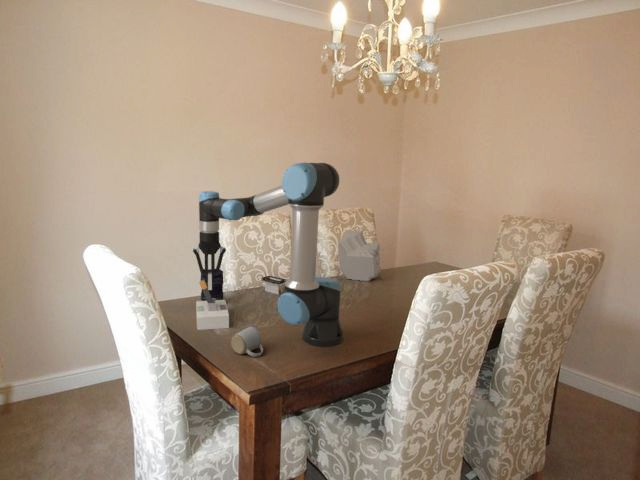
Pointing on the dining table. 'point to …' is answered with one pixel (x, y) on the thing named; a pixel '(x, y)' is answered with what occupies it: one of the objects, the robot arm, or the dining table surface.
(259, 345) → the ceramic mug
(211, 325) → the switch box
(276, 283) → the grey bin
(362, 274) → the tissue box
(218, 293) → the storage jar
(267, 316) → the dining table surface
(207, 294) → the switch lever
